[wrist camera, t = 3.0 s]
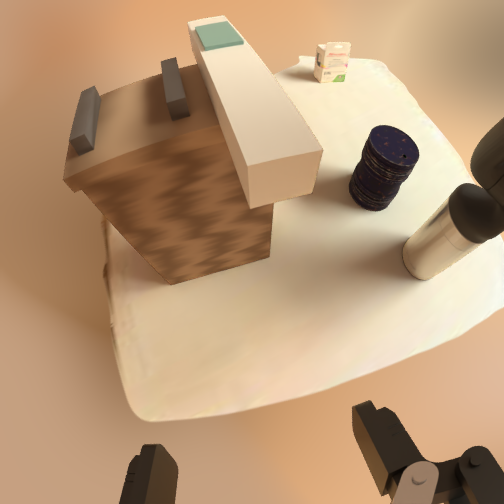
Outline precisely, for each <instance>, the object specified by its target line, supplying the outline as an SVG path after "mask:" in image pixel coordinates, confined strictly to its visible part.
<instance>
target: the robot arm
mask: <svg viewBox="0 0 504 504" xmlns="http://www.w3.org/2000/svg"><path fill="white" fill-rule="evenodd" d="M470 166H471V172H472V174H473V176H474V178H475V179H476V181H477V182H478V183H479V184H480V185H481V186H482V187H483V188H481V187H479V186H477V185H474V184H471V183H465V184H462V185H460V186H458V187H457V188H456V189H455V190H454V192H453V193H452V194H451V195H450V196H449V197H448V198H447V200H446V201H445V202H444V203H443V204H442V205H441V206H440V207H439V208H438V210H437V211H436V212H435V213H434V214H433V215H432V216H431V217H430V218H429V219H428V220H427V221H426V222H425V223H424V224H423V225H422V226H421V227H420V228H419V229H418V230H417V231H416V232H415V233H414V234H413V235H412V236H411V237H410V238H409V239H408V240H407V242H406V243H405V245H404V247H403V260H404V263H405V266H406V267H407V269H408V270H409V272H410V273H411V274H412V275H413V276H415V277H416V278H418V279H421V280H428V279H431V278H433V277H434V276H436V275H437V274H439V273H440V272H442V271H444V270H445V269H447V268H448V267H450V266H451V265H453V264H454V263H456V262H457V261H459V260H460V259H462V258H463V257H464V256H466V255H467V254H469V253H470V252H472V251H473V250H474V249H476V248H477V247H478V246H480V245H481V244H482V243H484V242H485V241H487V240H489V239H492V238H494V237H496V236H497V235H499V234H500V233H502V232H503V231H504V118H503V119H501V120H500V121H499V122H498V123H497V124H496V125H495V126H494V127H493V128H492V129H491V130H490V131H489V132H488V133H487V134H486V135H485V136H484V137H483V138H482V139H481V141H480V142H479V144H478V145H477V147H476V148H475V150H474V152H473V155H472V158H471V164H470ZM352 426H353V432H354V436H355V438H356V441H357V443H358V445H359V447H360V449H361V452H362V454H363V456H364V458H365V461H366V463H367V465H368V467H369V470H370V472H371V474H372V476H373V478H374V480H375V483H376V485H377V487H378V490H379V492H380V494H381V496H384V495H386V494H389V496H390V498H391V500H392V501H391V503H390V504H440V503H444V504H504V472H503V471H502V469H501V467H500V466H499V465H498V463H497V461H496V460H495V458H494V457H493V455H492V454H491V453H490V451H489V450H488V449H487V448H485V447H483V446H474V447H471V448H469V449H468V450H466V451H465V452H464V453H463V455H462V456H461V457H458V458H455V459H452V460H448V461H445V462H439V463H435V462H430V461H428V460H426V459H425V458H424V457H423V456H422V455H421V453H420V452H419V450H418V449H417V447H416V445H415V444H414V442H413V441H412V439H411V437H410V436H409V434H408V433H407V431H405V428H404V427H403V425H402V424H401V422H400V420H399V419H398V417H397V415H396V414H395V413H394V412H393V411H391V410H389V409H388V408H386V407H383V408H381V409H378V410H376V408H375V407H374V405H373V403H372V402H371V401H370V400H368V401H366V402H363V403H361V404H358V405H355V406H353V407H352ZM177 479H178V466H177V464H176V462H175V460H174V459H173V458H172V457H171V456H170V454H169V453H168V452H167V451H166V449H165V448H164V447H163V446H162V445H161V444H145V445H143V446H142V449H141V452H140V455H136V456H135V457H134V458H133V459H132V461H131V462H130V464H129V467H128V471H127V475H126V478H125V482H124V486H123V490H122V494H121V498H120V502H119V504H175V497H176V488H177Z"/></svg>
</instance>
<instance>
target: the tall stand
mask: <svg viewBox="0 0 504 504" xmlns="http://www.w3.org/2000/svg"><path fill="white" fill-rule="evenodd" d="M161 67H162V74H159V75H156V76H152V77H149V78H146V79H143V80H140V81H137V82H134V83H132V84H129V85H126V86H124V87H121V88H118V89H116V90H113V91H111V92H108V93H106V94H103V95H101V96H99V94H98V92H97V90H96V88H95V86H93V87H91V88H89V89H86V90H84V91H82V92H81V96H80V99H79V103H78V106H77V110H76V114H75V118H74V121H73V125H72V130H71V134H70V139H69V147H68V152H67V157H66V163H65V169H64V176H63V180H64V182H65V183H66V184H67V185H68V186H69V187H70V188H71V190H72V191H73V192H74V193H75V192H77V191H79V190H83V192H84V193H85V194H86V195H87V196H88V198H89V199H90V200H91V201H92V202H93V203H94V204H95V206H96V207H97V208H98V209H99V210H100V211H101V212H102V214H103V215H104V216H105V217H106V218H107V219H108V220H109V221H110V223H111V224H112V225H113V226H114V227H115V228H116V229H117V230H118V231H119V232H120V233H121V235H122V236H123V237H124V238H125V239H126V240H127V241H128V242H129V243H130V244H131V245H132V246H133V247H134V248H135V249H136V250H137V251H138V252H139V253H140V255H141V256H142V257H143V258H144V259H145V260H146V261H147V262H148V263H149V264H150V265H151V266H152V267H153V268H154V269H155V270H156V271H157V272H158V273H159V274H160V275H161V276H162V277H163V278H164V279H165V280H166V281H167V282H168V283H169V284H170V285H174V284H177V283H181V282H184V281H188V280H191V279H195V278H198V277H202V276H205V275H209V274H212V273H216V272H219V271H222V270H226V269H229V268H233V267H236V266H240V265H243V264H247V263H250V262H254V261H257V260H260V259H264V258H267V257H269V256H270V244H271V231H272V218H273V205H274V203H271V204H267V205H263V206H260V207H256V208H252V209H250V207H249V204H248V202H247V199H246V196H245V193H244V190H243V188H242V185H241V182H240V179H239V176H238V174H237V171H236V168H235V165H234V162H233V160H232V157H231V154H230V151H229V148H228V146H227V143H226V140H225V137H224V135H223V132H222V129H221V126H220V124H219V121H218V118H217V115H216V113H215V110H214V107H213V105H212V102H211V99H210V96H209V94H208V91H207V88H206V86H205V83H204V80H203V77H202V75H201V72H200V69H199V67H198V64H196V65H191V66H187V67H183V68H180V69H179V68H178V64H177V60H176V57H175V58H171V59H168V60H164V61H161Z"/></svg>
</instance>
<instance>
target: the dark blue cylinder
mask: <svg viewBox="0 0 504 504" xmlns="http://www.w3.org/2000/svg"><path fill="white" fill-rule="evenodd" d="M418 159H419V150H418V147H417V145H416V144H415V142H414V141H413V140H412V139H411V138H410V137H409V136H408V135H407V134H406V133H404V132H403V131H401V130H399V129H397V128H395V127H392V126H387V125H379V126H376V127H374V128H373V129H372V130H371V132H370V135H369V137H368V139H367V141H366V143H365V146H364V148H363V150H362V158H361V160H360V162H359V163H358V164H357V166H356V168H355V170H354V172H353V175H352V179H351V181H350V183H349V191H350V194H351V196H352V198H353V199H354V201H355V202H356V203H357V204H358V205H359V206H361V207H363V208H364V209H367V210H370V211H381V210H383V209H385V208H386V207H387V206H388V205H389V204H390V202H391V201H392V200H393V199H394V197H395V196H396V194H397V193H398V191H399V188H400V185H401V184H402V182H404V181H405V180H406V179H407V178H408V176H409V175H410V173H411V172H412V170H413V168H414V166H415V164H416V163H417V161H418Z"/></svg>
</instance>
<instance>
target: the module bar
mask: <svg viewBox="0 0 504 504" xmlns="http://www.w3.org/2000/svg"><path fill="white" fill-rule="evenodd" d="M188 28H189V34H190V40H191V45H192V51H193V53H194V56H195V59H196V61H197V64H198V67H199V69H200V72H201V75H202V77H203V80H204V83H205V86H206V88H207V91H208V94H209V96H210V99H211V102H212V105H213V107H214V110H215V113H216V115H217V118H218V121H219V124H220V126H221V129H222V132H223V135H224V137H225V140H226V143H227V146H228V148H229V151H230V154H231V157H232V160H233V162H234V165H235V168H236V171H237V174H238V176H239V179H240V182H241V185H242V188H243V190H244V193H245V196H246V199H247V202H248V204H249V207H250V209H252V208H256V207H260V206H263V205H267V204H271V203H275V202H279V201H283V200H286V199H290V198H294V197H298V196H302V195H306V194H310V193H312V191H313V188H314V184H315V180H316V176H317V173H318V169H319V165H320V161H321V157H322V153H323V148H322V147H321V145H320V144H319V142H318V140H317V139H316V137H315V135H314V134H313V132H312V131H311V129H310V128H309V126H308V125H307V123H306V121H305V120H304V118H303V117H302V115H301V114H300V112H299V111H298V109H297V108H296V106H295V105H294V104H293V102H292V101H291V99H290V98H289V96H288V95H287V93H286V92H285V91H284V89H283V88H282V86H281V85H280V84H279V82H278V81H277V80H276V78H275V77H274V76H273V74H272V73H271V72H270V70H269V69H268V68H267V66H266V65H265V64H264V62H263V61H262V60H261V59H260V57H259V56H258V55H257V54H256V52H255V51H254V50H253V49H252V47H251V46H250V45H249V44H248V42H247V41H246V40H245V39H244V38H243V36H242V35H241V34H240V33H239V32H238V31H237V29H236V28H235V27H234V26H233V25H232V24H231V23H230V22H229V21H228V19H227V18H226V17H225V16H224V15H223V16H216V17H211V18H205V19H200V20H195V21H190V22H188Z"/></svg>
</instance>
